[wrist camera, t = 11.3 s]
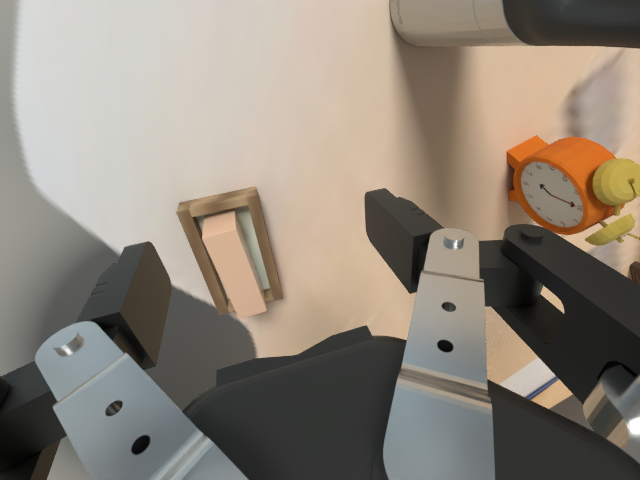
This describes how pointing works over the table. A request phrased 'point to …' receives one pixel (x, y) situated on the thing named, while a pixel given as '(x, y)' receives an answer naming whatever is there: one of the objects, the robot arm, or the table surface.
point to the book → (635, 272)
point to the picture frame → (253, 231)
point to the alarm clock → (574, 186)
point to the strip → (234, 262)
